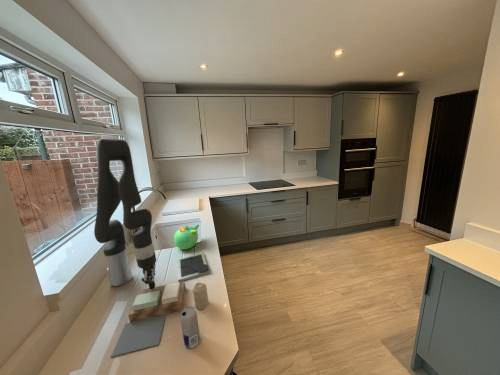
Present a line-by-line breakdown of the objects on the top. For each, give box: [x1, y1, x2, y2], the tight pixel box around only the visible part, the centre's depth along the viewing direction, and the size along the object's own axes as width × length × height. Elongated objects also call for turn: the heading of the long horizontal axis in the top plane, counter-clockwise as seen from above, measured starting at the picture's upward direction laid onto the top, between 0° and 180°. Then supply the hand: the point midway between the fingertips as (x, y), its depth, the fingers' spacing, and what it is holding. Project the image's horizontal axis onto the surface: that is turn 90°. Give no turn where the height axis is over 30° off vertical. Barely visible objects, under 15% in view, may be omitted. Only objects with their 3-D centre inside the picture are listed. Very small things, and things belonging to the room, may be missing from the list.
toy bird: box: [173, 223, 200, 250], centre depth 135 cm, size 18×17×15 cm
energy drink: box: [179, 306, 201, 349], centre depth 68 cm, size 5×5×12 cm
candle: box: [192, 282, 209, 311], centre depth 84 cm, size 6×6×10 cm
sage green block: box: [131, 290, 160, 311], centre depth 83 cm, size 9×6×2 cm, turn 103°
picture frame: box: [176, 252, 210, 282], centre depth 112 cm, size 16×3×21 cm
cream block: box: [162, 281, 180, 304], centre depth 86 cm, size 9×6×2 cm, turn 13°
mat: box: [110, 314, 167, 358], centre depth 73 cm, size 15×13×1 cm
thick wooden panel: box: [127, 280, 187, 323], centre depth 87 cm, size 20×14×4 cm
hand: (152, 287), depth 91 cm, fingers closed
